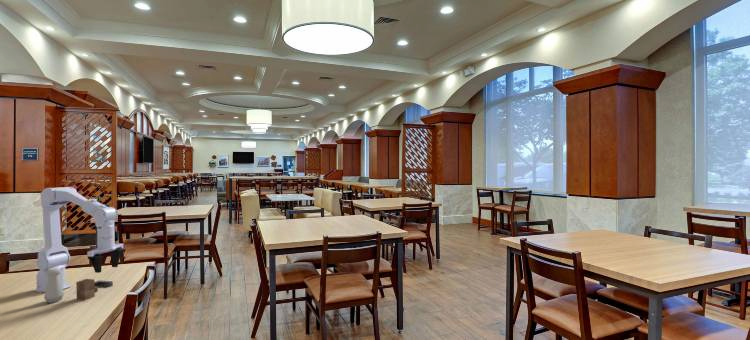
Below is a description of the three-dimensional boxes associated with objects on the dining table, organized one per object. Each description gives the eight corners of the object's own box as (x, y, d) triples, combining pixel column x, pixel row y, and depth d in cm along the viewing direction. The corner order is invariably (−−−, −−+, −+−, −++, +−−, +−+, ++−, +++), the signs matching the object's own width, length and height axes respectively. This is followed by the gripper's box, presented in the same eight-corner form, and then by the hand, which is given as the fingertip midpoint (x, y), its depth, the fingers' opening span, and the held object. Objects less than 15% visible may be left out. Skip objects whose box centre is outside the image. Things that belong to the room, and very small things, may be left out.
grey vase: (52, 304, 139) (51, 270, 139) (40, 303, 140) (39, 269, 140) (67, 298, 145) (67, 266, 144) (56, 297, 146) (55, 265, 146)
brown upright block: (76, 299, 144) (76, 282, 144) (86, 295, 148) (86, 278, 148) (85, 300, 143) (84, 282, 143) (94, 296, 147) (94, 279, 147)
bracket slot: (80, 291, 153) (80, 286, 153) (99, 284, 161) (99, 280, 161) (94, 292, 152) (94, 287, 152) (112, 285, 160) (112, 281, 160)
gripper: (97, 240, 142) (98, 275, 142) (129, 233, 156) (129, 265, 156) (82, 240, 143) (83, 274, 143) (115, 233, 157) (115, 264, 158)
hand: (106, 269), depth 150 cm, fingers open, 7 cm apart
